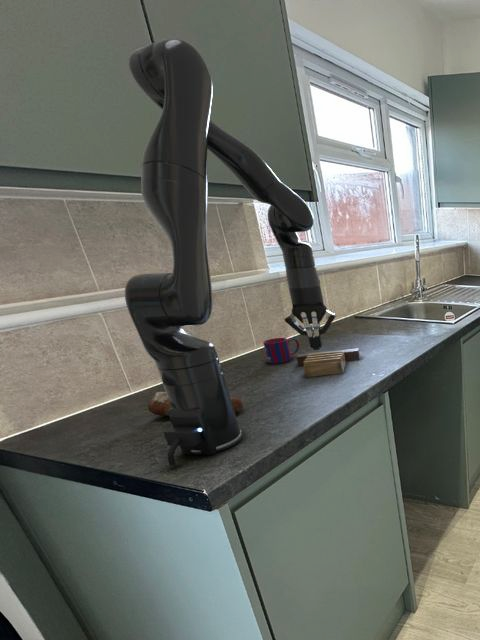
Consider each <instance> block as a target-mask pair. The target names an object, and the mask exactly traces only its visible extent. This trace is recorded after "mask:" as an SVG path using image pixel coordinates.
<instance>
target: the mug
mask: <svg viewBox="0 0 480 640" xmlns="http://www.w3.org/2000/svg"><path fill="white" fill-rule="evenodd" d="M292 341H295V343H296V348H295V350H294V351H292V352H291V349H290V345H289V343H290V342H292ZM263 347H264V351H265V355H266V358H267V363H268V364H270V365H280V364H284V363H288V362H291V361H292V356H293V355H295V354H296V353H297V352H299V349H300V343H299V341H298V340H297V339H296V338H289V339H288V338H286V337H275V338H269V339H266V340H264V341H263Z"/></svg>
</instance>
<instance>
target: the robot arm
mask: <svg viewBox="0 0 480 640" xmlns="http://www.w3.org/2000/svg"><path fill="white" fill-rule="evenodd" d="M127 60H128V62H127V63H128V68H129V71H130V74H131V77H132V79H133V80H134V81H135V83H136V84H137V86H138V87H139V89H141V90H142V92H143V93H144V94H145V95H146V97H148V98H149V99H150V100H151V101H152V102H153V103H154V104H155V105H156V106H157V107H158V108H160V109H161V110H162V111H161V114H160V116H159V119H158V121H157V123H156V125H155V127H154V129H153V131H152V132H151V135H150V136H149V138H148V140H147V143H146V145H145V148H144V150H143V153H142V157H141V165H140V169H141V170H140V171H141V172H140V190H141V191H140V192H141V197H142V199H143V202H144V203H145V206H146V208H147V209H148V211H149V212H150V213H151V215H152V217H153V218H154V219H155V221H156V222H157V224H158V225H159V226H160V227H161V229H162V230H163V232H164V233H165V235H166V236H167V239H168V240H169V242H170V247H171V250H172V262H173V263H172V264H173V266H172V272H161V273H141V274H140V273H139V274H136V275H133V276H131V277H130V278H129V279H128V281H127V282H126V284H125V287H124V300H125V305H126V308H127V311H128V314H129V316H130V318H131V321H132V323H133V325H134V327H135V329H136V332H137V334H138V337H139V339H140V341H141V344H142V346H143V348H144V350H145V352H146V353H147V355H148V356H149V357H150V358H151V359H152V360H153V361H154V363H155V366H156V369H157V371H158V374H159V377H160V379H161V382H162V385H163V388H164V390H165V391H164V392H166V394H167V397H168V399H169V402H170V405H171V408H170V409H168V414H169V416H168V418H169V420H170V422H171V427H170V428H168V429H166V430H164V431H163V432H162V433H163V436H164V438H165V441H166V443H167V446H168V447H169V449H168V451H167V461H168V464H169V466H171V467H175V466H176V465H177V463H176V459H175V452H176V450H177V448H178V447H180V450H181V453H182V455H183V456H185V455H186V456H187V455H189V456H192V455H193V456H212V455H215V454H217V453H218V452H221V451H224V450H227V449H229V448H231V447H233V446H235V445H237V444H238V443H239V442H241V440H242V439H243V433H242V430H241V428H240V426H239V422H238V418H237V416H236V415H237V414H236V413H235V412H234V408H233V405H232V402H231V399H230V397H231V395H230V393H229V389H228V386H227V382H226V379H225V376H224V373H223V368H222V365H221V362H220V359H219V356H218V355H219V354H218V351H217V349H216V346H215V345H214V343H212V342H211V341H208V340H205V339H203V338H199V337H197V336H194V335H192V334H190V333H189V332H187V331H186V330H185V329H184V327H196V326H201V325H204V324H206V323H207V322H208V321H209V319H210V318H211V316H212V312H213V303H214V301H213V300H214V299H213V286H212V278H211V269H210V261H209V260H210V259H209V249H208V218H207V217H208V168H207V167H208V151H209V152H210V153H211V154H212V155H213V156H214V157H215V158H216V159H217V160H219V161H220V162H221V163H222V164H223V165H224V167H226V168H227V169H228V170H229V172H230V173H231V174H232V175H233V176H234V177H235V178H236V180H238V182H239V183H240V184H241V185H242V186H243V188H245V189H246V191H248V193H249V194H250V195H251V196H252V197H253V199H255V200H256V201H257V202H260V203H262V204H267V205H270V206H269V207H268V209H267V221H268V225H269V228H270V230H271V231H272V234H273V236H274V238H275V240H276V243H277V244H278V247H279V249H280V250H281V252H282V258H283V262H284V267H285V277H286V282H287V287H288V291H289V296H290V300H291V305H292V308H291V313H290V315H288V316H286V317H285V318H284V322H285V323H286V324H288V325H289V326H290V328H292V329H294V330H295V331H296V332H297V333H298V334H299V335H300V336H306V337H307V338H308V341H309V342H308V343H309V347H310V348H311V349H313V351H319V350H321V348H322V347H323V341H322V335H324V334H326V333H327V332H328V329H329V328H330V326H331V325H332V323H333V321H334V320H335V318H336V317H337V314H336V313H335V312H331V311H330V310H328V308H327V307H326V305H325V303H324V297H323V293H322V292H323V291H322V287H321V280H320V277H319V273H318V270H317V266H316V261H315V255H314V252H313V251H314V250H313V248H312V246H311V244H309V243H307V242H304V241H302V240H301V239H300V236H299V235H298V233H306V232H308V231H310V230H311V229H312V228H313V225H314V223H315V219H314V215H313V212H312V210H311V208H310V207H309V205H308V204H307V203H306V202H305V200H304V199H302V198H301V196H299V195H298V194H297V193H296V192H294V191H293V190H292V189H291V188H289V187H288V186H287V185H286V184H284V183H283V182H281V180H280V179H279V178H278V177H277V175H276V174H275V173H274V172H273V170H272V169H271V168H270V167H269V165H268V164H267V163H266V161H265V160H264V159H263V158H262V157H261V156H260V155H259V153H257V152H256V151H255V150H254V149H253V148H251V147H250V146H249V145H247V144H246V143H245V142H243V141H241V140H240V139H239V138H237V137H236V136H234V135H232V134H231V133H230V132H228V131H226V130H225V129H223V128H222V127H221V126H219V125H218V124H217V123H215V122H214V121H213V120H211V118H210V117H211V110H212V109H211V108H212V101H213V91H214V87H213V86H214V85H213V78H212V75H211V71H210V68H209V65H208V63H207V62H206V60H205V58H204V57H203V55H202V54H201V53H200V51H199V50H198V49H197V48H196V47H195V46H194V45H192V44H191V43H190V42H188V41H186V40H184V39H181V38H176V37H171V38H164V39H160V40H158V41H154V42H152V43H149V44H147V45H144V46H142V47H139V48H137V49H135V50H132V52H130V54H129V56H128V59H127ZM324 317H325V319H326V322H325V323H324V325H323V327H321V322H322V321H323V318H324ZM297 320H298V321H299V322H300V323H302V324H303V326H304V327H303V326H302V325H301V324H300V323H298V322H297Z"/></svg>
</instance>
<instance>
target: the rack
mask: <svg viewBox="0 0 480 640" xmlns="http://www.w3.org/2000/svg"><path fill="white" fill-rule="evenodd" d="M334 351H335V352H327V351H324V352H325V353H316V352H314V353H315V354H308V356H307V357H306V358H307V359H305V361H304V362H303V363H304V366H303V370H304V375H305V378H312V377H320V376H321V377H323V376H330V375H338V374H340V375H341V374H344V371H345V368H346V365H347V361H346V360H345V354H344V351H337V350H334Z"/></svg>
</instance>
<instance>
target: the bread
mask: <svg viewBox="0 0 480 640" xmlns="http://www.w3.org/2000/svg"><path fill="white" fill-rule="evenodd" d="M230 399H231V402H232V405H233V408H234V412H235V414H236V413H238V412H241V411H242V410H243V408H244V405H243V404H244V403H243V401H242V399H241V398H239V397H233V396H230ZM147 408H148V411H149V412H150V413H152V414H153V415H155V416H160V417H169V414H168V409H170V408H171V405H170V402H169V399H168V397H167V394H166V391H156V392H155V393H153V395H152V397H151V399H150V401H149V402H148V403H147Z"/></svg>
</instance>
